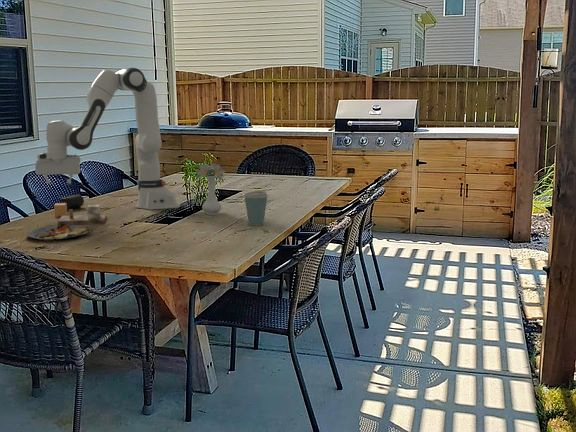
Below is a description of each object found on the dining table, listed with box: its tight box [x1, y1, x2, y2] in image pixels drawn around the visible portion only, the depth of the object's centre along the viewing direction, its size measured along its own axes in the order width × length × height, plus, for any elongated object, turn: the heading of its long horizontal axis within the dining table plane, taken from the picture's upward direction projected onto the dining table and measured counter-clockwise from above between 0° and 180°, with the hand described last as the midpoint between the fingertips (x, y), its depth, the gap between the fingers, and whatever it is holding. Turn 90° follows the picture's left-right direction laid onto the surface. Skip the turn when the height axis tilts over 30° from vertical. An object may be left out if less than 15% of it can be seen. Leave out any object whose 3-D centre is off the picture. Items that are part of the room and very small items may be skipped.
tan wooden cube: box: [53, 202, 68, 217], centre depth 314 cm, size 5×5×6 cm
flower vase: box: [196, 162, 226, 216], centre depth 319 cm, size 13×18×25 cm
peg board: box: [57, 204, 107, 226], centre depth 301 cm, size 20×14×7 cm
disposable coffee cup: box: [243, 190, 268, 227], centre depth 294 cm, size 11×11×15 cm
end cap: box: [59, 194, 85, 211], centre depth 332 cm, size 10×7×7 cm
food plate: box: [25, 224, 91, 242], centre depth 270 cm, size 25×23×4 cm
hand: (58, 183), depth 312 cm, fingers open, 8 cm apart
